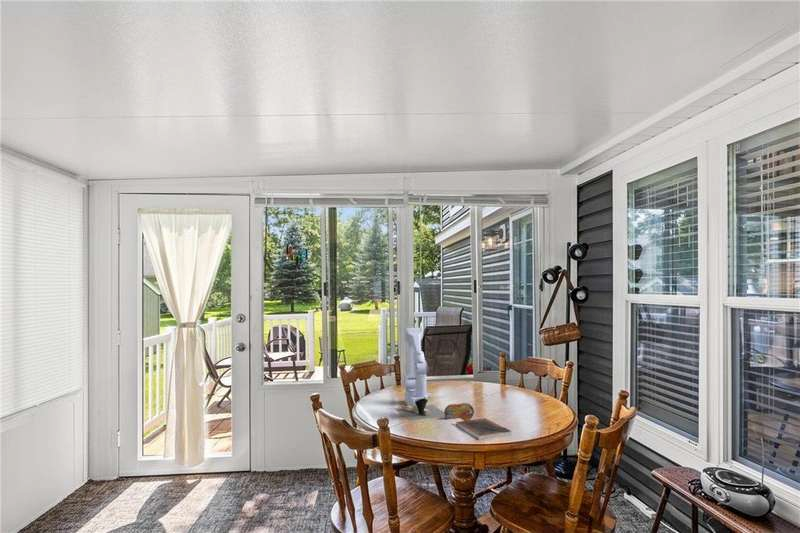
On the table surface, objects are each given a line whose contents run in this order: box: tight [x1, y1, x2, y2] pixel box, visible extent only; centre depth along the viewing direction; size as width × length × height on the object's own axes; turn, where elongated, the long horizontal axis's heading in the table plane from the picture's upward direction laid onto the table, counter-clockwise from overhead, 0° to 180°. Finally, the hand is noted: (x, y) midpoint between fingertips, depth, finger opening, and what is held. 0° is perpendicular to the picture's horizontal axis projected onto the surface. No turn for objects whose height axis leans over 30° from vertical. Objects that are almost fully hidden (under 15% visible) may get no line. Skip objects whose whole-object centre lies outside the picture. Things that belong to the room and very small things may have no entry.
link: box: [401, 402, 430, 415], centre depth 230 cm, size 17×4×3 cm, turn 47°
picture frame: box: [455, 417, 512, 441], centre depth 206 cm, size 16×2×22 cm
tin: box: [443, 402, 475, 421], centre depth 221 cm, size 15×3×8 cm, turn 105°
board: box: [394, 404, 446, 421], centre depth 230 cm, size 22×22×2 cm
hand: (421, 414), depth 224 cm, fingers closed
